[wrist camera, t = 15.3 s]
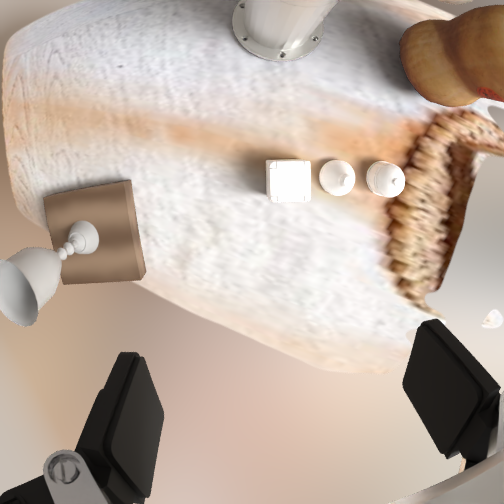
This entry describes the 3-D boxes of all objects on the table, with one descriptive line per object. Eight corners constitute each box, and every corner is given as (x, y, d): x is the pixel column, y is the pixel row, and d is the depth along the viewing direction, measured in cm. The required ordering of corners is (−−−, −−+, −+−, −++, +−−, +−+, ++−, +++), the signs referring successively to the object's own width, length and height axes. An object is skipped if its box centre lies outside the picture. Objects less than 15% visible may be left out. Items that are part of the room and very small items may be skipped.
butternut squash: (387, 100, 37) (514, 82, 14) (382, 23, 33) (485, -38, 9) (454, 116, 38) (574, 123, 15) (449, 45, 34) (557, 20, 10)
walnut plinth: (53, 194, 39) (43, 197, 36) (131, 179, 40) (123, 182, 37) (71, 276, 44) (63, 284, 41) (146, 271, 44) (141, 280, 42)
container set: (266, 196, 42) (271, 203, 37) (265, 158, 40) (269, 160, 35) (394, 195, 43) (412, 202, 38) (395, 161, 41) (414, 165, 36)
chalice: (57, 226, 38) (-21, 274, 21) (89, 204, 37) (10, 247, 20) (80, 268, 40) (15, 333, 24) (113, 249, 40) (50, 315, 23)
